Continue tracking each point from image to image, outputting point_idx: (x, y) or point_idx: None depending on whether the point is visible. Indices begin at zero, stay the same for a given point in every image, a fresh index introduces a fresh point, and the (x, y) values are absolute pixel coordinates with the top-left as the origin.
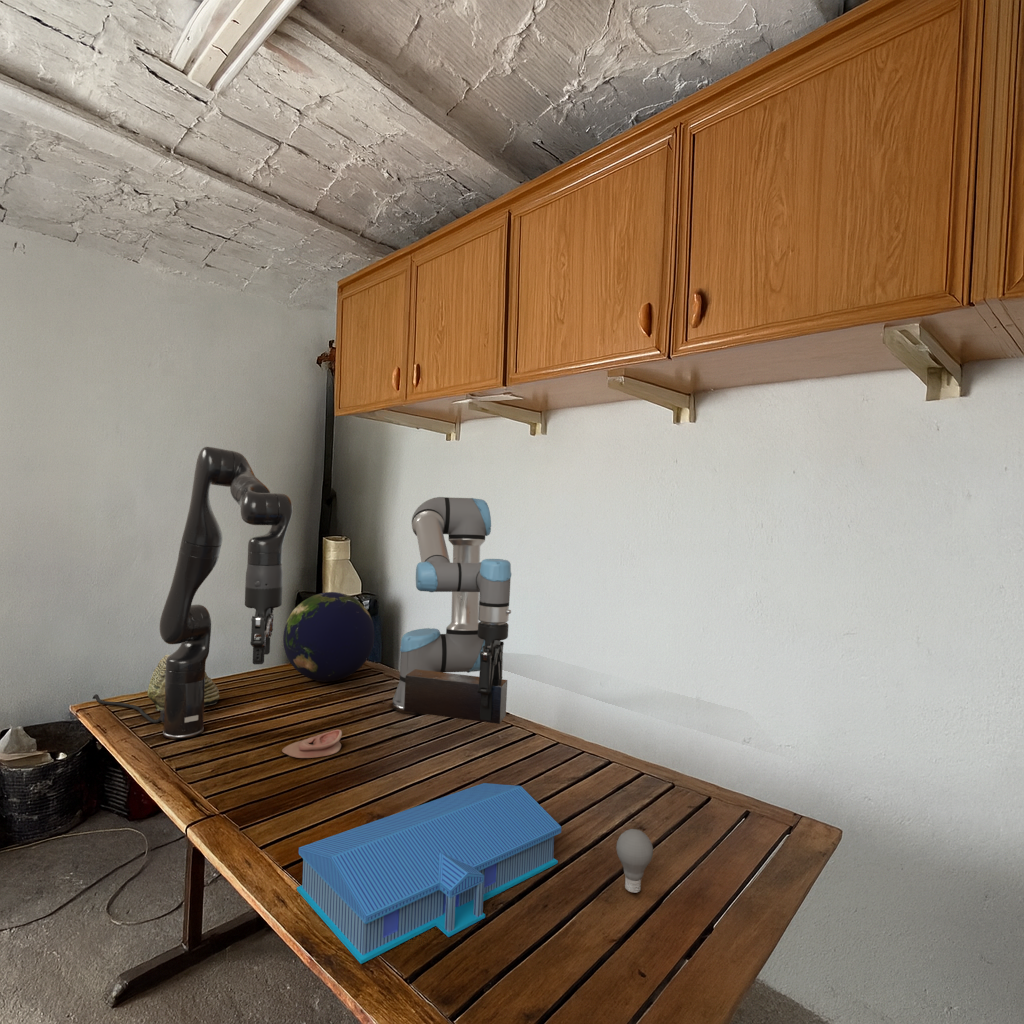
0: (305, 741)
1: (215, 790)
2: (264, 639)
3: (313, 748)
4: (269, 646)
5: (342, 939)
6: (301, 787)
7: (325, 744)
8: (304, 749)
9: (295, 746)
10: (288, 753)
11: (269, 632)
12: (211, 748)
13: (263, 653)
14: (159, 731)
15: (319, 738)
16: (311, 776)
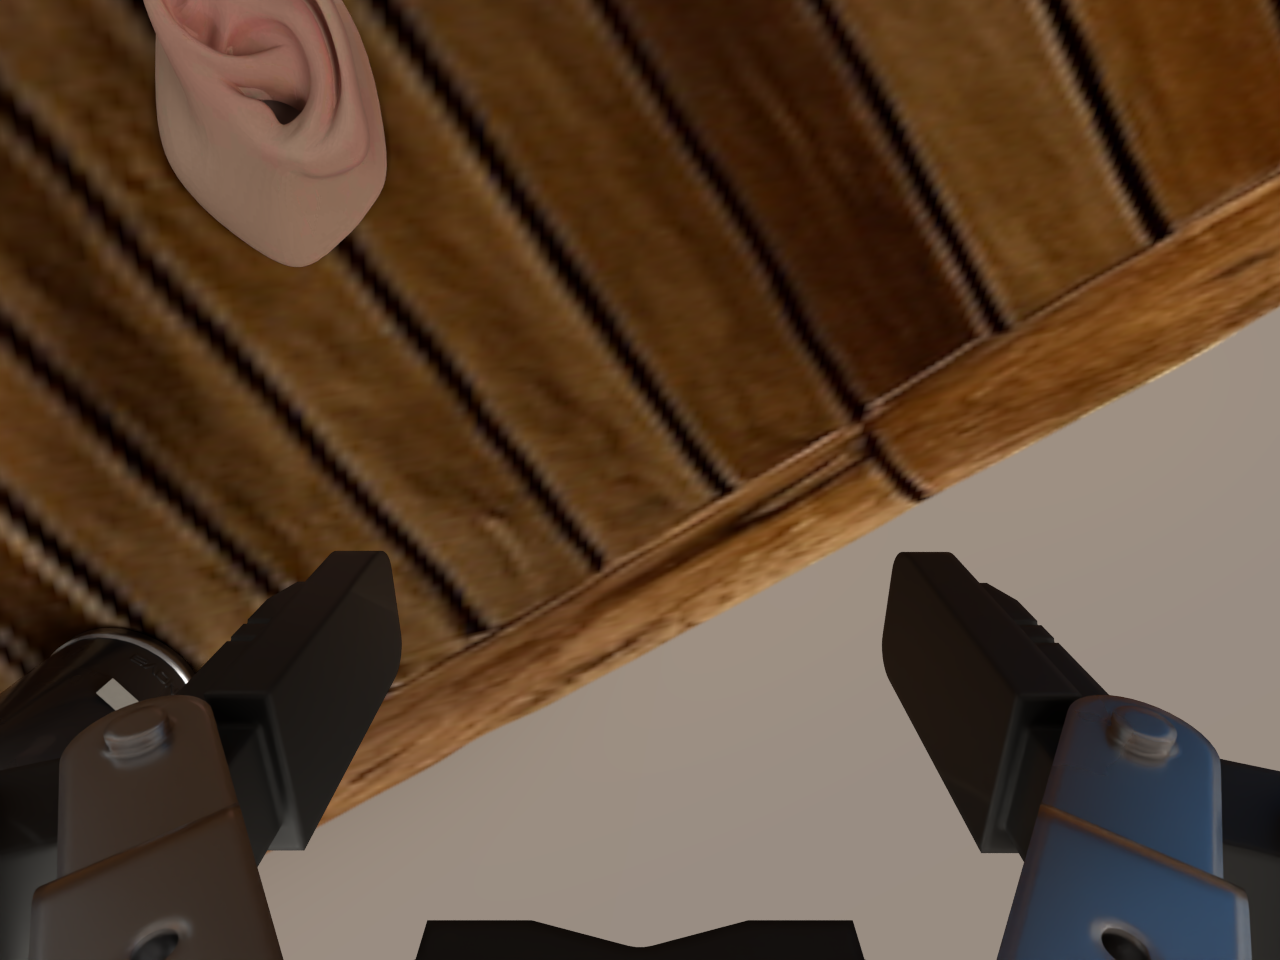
0: (287, 140)
1: (672, 471)
2: (1218, 819)
3: (359, 88)
4: (342, 601)
5: None
6: (700, 128)
7: (309, 15)
8: (369, 140)
9: (305, 197)
10: (345, 229)
11: (234, 799)
12: (278, 562)
13: (1013, 629)
14: None
15: (236, 57)
16: (589, 88)
